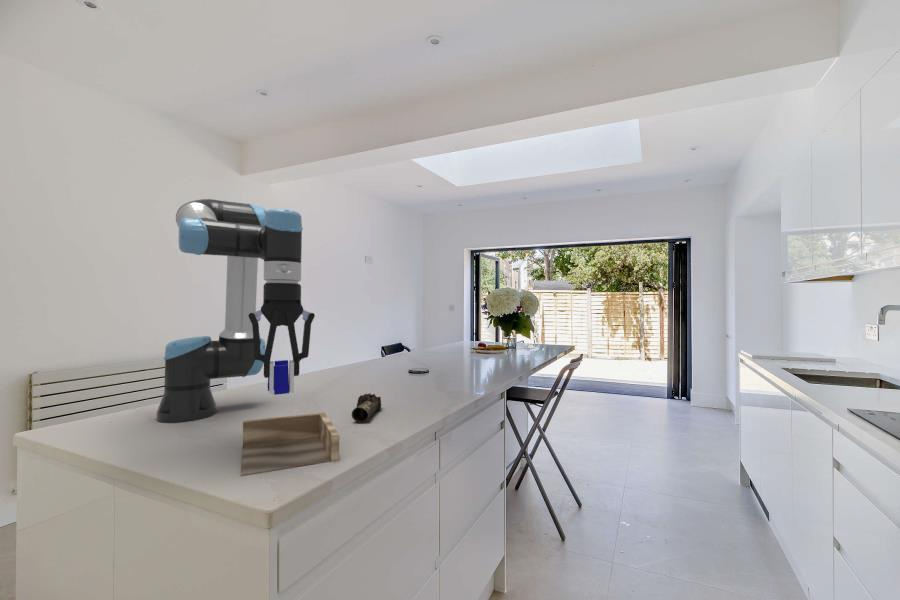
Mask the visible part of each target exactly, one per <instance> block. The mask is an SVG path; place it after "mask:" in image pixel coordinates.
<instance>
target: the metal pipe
mask: <svg viewBox="0 0 900 600" xmlns="http://www.w3.org/2000/svg"><path fill="white" fill-rule="evenodd" d="M380 409H382V399H381V396H376V394H375V393H373V394H371V392H370V393H364V394H361V395H360V396H358V399H357V403H356V407H354V408H353V410H352V411H351V418H352V419H353V420H354V421H355V422H356V423H360V424H364V423H366V422H367V421H368V420H369V418H371V416H372V415H373V414H374V413H375V412H380Z"/></svg>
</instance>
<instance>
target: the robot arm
mask: <svg viewBox="0 0 900 600" xmlns="http://www.w3.org/2000/svg"><path fill="white" fill-rule="evenodd" d="M175 222H176V225H177V228H178V248H179V251H181V252H182V253H185V254H193V255H197V256H201V255H209V256H226V257H227V259H226V284H225V286H226V287H225V313H224V314H225V315H224V318H225V319H224V329H223V330H222V331H221V332H220V333H219V334H218V340H212V338H211V336H208V335H207V336H194V337H193V336H192V337H187V338H181V339H176V340H172V341H170V342H168V343H167V344H166V345H165V348H164V349H165V350H164V358H163V360H164V382H163V383H164V392H163V395H162V398H161V400H160V403H159V406H158V408H157V410H156V421H157V422H160V423H164V422H165V423H168V424H176V423H187V422H189V421H190V422H195V420H196V421H201V420H204V418H205V419H208V418H210V417H213V416H215V415H216V414H217V404H216V401H215V398H214V396H213V392H212V390H211V380H214V379H229V378H237V377H238V378H239V377H242V378H245V377H247V376H254V375H255V376H256V375H257V374H259V373H260V372H261V370H262V369H263V377H264V379H266V378H267V379H268V378H269V391H268V393H269V395H274V366H275V361H271V357H272V353H273V349H274V348H273V347H274V341H275V337H276V332H277V327H280V326H284V327H287V331H288V332H287V333H288V336H289V342H290V349H291V350H290V351H291V354H292V360H288V370H289V394H290V393H294V392H295V391H294V390H295V388H294V387H295V386H294V385H295V377H299V375H300V362H301V360H304V359H306V358H308V357H309V355H310V354H309V353H310V352H309V351H310V342H311V341H310V340H311V330H312V323H313V321H314V319H315V313H313V312H310V311H307V310H305V309H304V307H303V305H302V285H301V284H300V283H299V282H301V281H302V249H303V248H302V246H303V245H302V242H303V239H302V237H303V236H302V235H303V230H304V229H303V224H302V222H303V221H302V216H301V214H300V212H298V211H296V210H291V209H287V208H286V209H285V208H271V209H270V208H269V209H268V210H266V209H265V208H264V207H263V206H260V205H256V204H251V203H242V202H237V201H236V202H234V201H226V200H218V199H211V198H208V199H207V198H204V199H203V198H201V199H197V200H192V201H189V202H186V203H183V204H182V205H181V206H179V208H178V209H177V211H176V214H175ZM259 259H261V260H263V280H264V282H265V281H266V282H265V283H264V284H263V291H262V292H263V299H262V300H263V302H262V305H261V306H260V309H258V310H257V293H258V292H257V290H258V265H259ZM262 315H263V317H265V319H266V320H267V321H268V323H269V329H268V334H267V340H266V342H265V340H264V339H263V338H261V334H260V324H259V322H260V321H261V317H262ZM301 315H302V320H303V321H304V323H303V333H302V344H301V345H302V346H301V352H300V353H299V347H298V340H297V336H296V335H297V334H296V327H295V323H296V322H297V320H298V319H299V318H300V316H301ZM200 419H201V420H200ZM165 423H164V424H165Z"/></svg>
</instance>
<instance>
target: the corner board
mask: <svg viewBox="0 0 900 600" xmlns="http://www.w3.org/2000/svg"><path fill="white" fill-rule="evenodd" d="M336 461H337V462H338V461H340V433H339V431H338V430H337V429H336V427H335V426H334V424H333V423H332V421H331V420H330V419H329V416H328V415H327V414H326V412H318V413H309V414H298V415H287V416H278V417H277V416H276V417H267V418H260V419H258V418H257V419H256V418H255V419H248V420H242V452H241V465H240V466H241V468H240V477H245V476H250V475H252V476H253V475H259V474H264V473H270V472H275V471H277V472H278V471H281V470H283V471H284V470H288V469H289V470H290V469H294V468H295V469H296V468H299V467H307V466H314V465H320V464H326V463H333V462H336Z"/></svg>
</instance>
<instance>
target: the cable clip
mask: <svg viewBox="0 0 900 600" xmlns="http://www.w3.org/2000/svg"><path fill="white" fill-rule="evenodd" d="M267 391H268V392H269V378H267ZM286 394H290V391H289V360H288V359H286V360H285V359H282V360H274V392H273V395H274V396H275V395H276V396H277V395H286Z"/></svg>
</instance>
